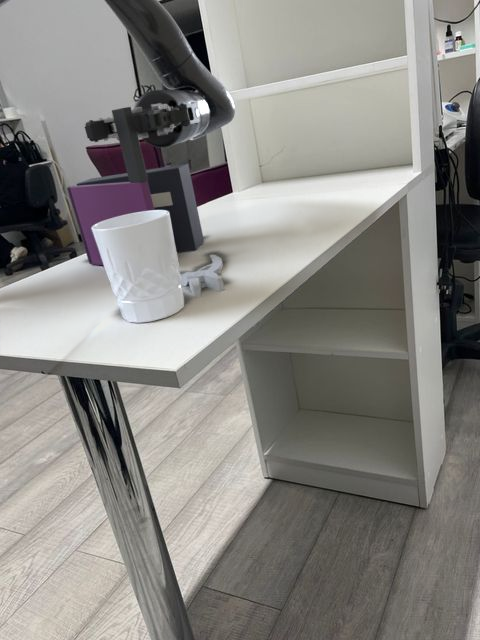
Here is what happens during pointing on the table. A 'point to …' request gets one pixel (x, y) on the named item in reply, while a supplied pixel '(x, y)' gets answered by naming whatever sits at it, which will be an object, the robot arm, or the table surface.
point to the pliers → (205, 277)
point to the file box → (170, 201)
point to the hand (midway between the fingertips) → (120, 126)
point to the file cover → (113, 188)
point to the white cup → (141, 264)
